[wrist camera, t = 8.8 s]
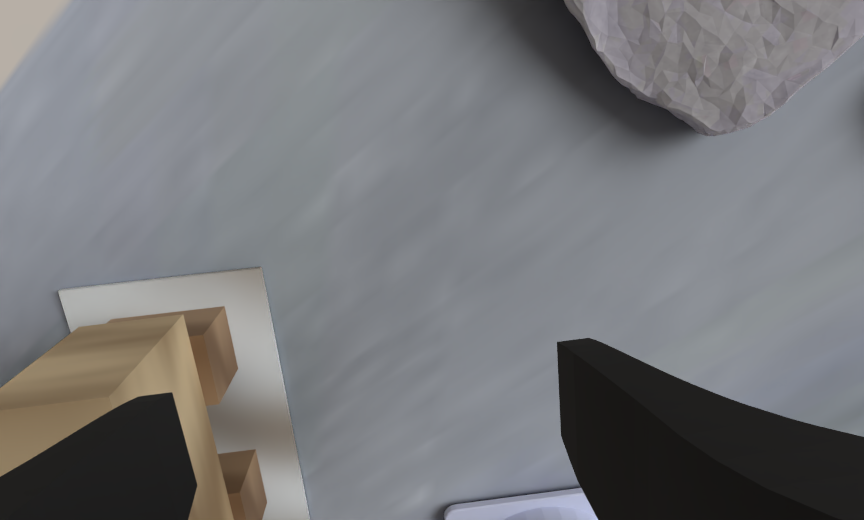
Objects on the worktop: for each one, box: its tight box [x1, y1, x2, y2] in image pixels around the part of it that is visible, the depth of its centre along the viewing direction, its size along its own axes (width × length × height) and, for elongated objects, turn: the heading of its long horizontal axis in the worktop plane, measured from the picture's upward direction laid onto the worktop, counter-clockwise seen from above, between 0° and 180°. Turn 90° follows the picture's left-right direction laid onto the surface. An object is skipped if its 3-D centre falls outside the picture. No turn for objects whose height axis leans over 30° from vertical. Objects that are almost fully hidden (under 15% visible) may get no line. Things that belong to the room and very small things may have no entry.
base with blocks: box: [58, 267, 310, 520], centre depth 21 cm, size 11×7×3 cm, turn 5°
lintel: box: [0, 314, 234, 520], centre depth 17 cm, size 10×3×5 cm, turn 6°
